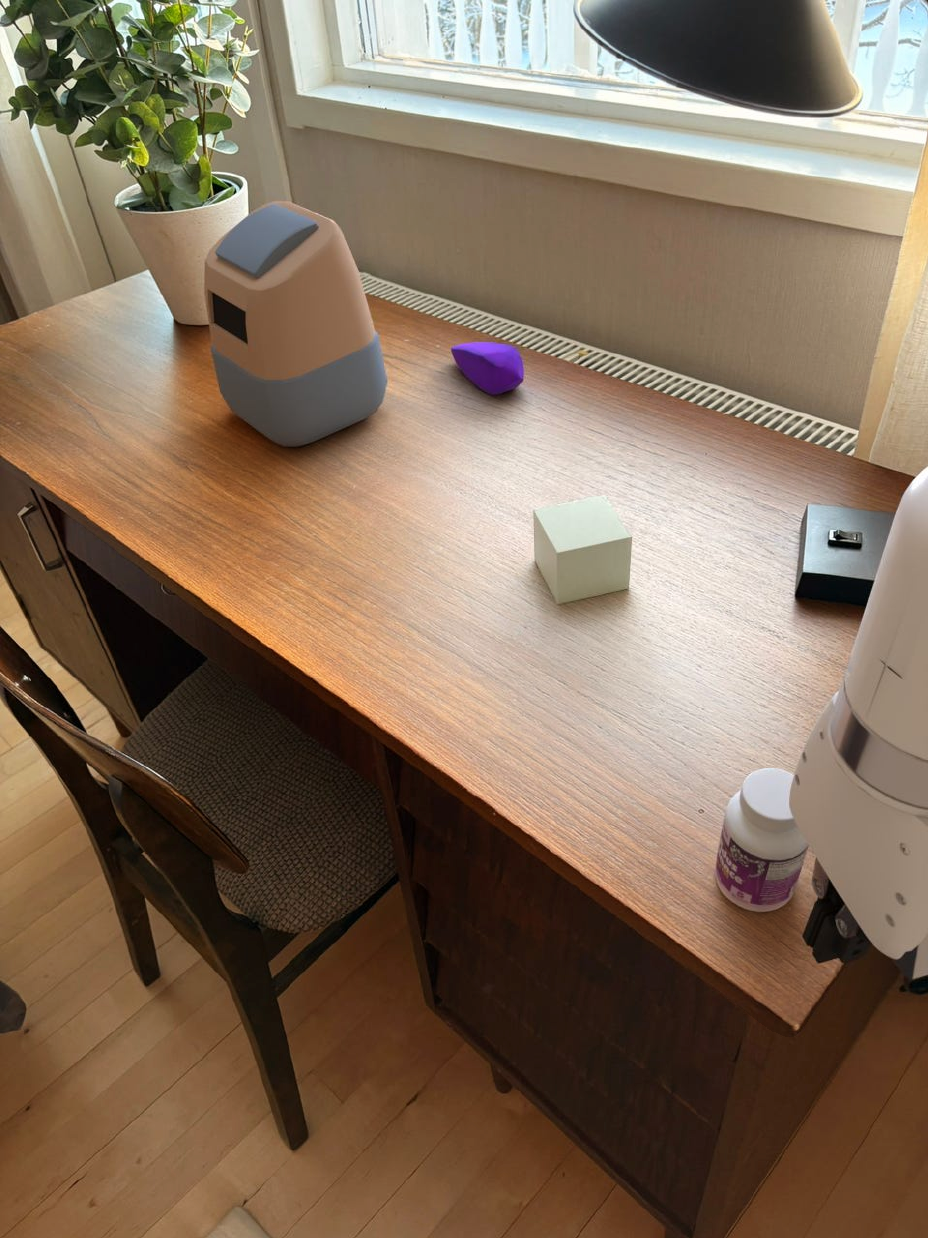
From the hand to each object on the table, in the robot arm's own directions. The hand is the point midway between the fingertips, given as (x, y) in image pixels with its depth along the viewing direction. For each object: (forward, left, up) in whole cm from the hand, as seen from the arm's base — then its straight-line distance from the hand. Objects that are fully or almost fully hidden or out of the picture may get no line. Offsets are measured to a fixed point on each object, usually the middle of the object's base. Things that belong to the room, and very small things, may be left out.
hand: (834, 944), depth 53 cm
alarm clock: (+76, -40, -7) cm, 86 cm away
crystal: (+61, -57, -7) cm, 84 cm away
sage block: (+32, -29, -7) cm, 44 cm away
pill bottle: (+6, -6, -7) cm, 11 cm away
